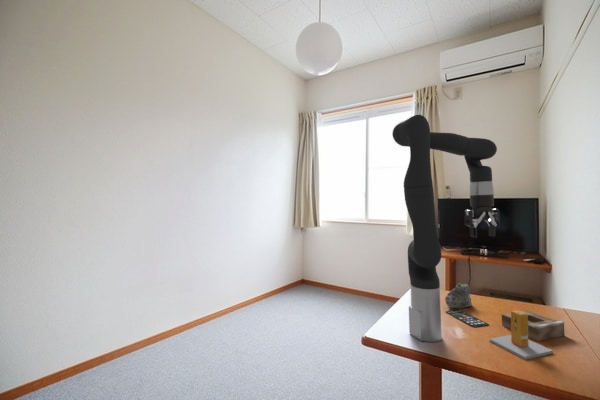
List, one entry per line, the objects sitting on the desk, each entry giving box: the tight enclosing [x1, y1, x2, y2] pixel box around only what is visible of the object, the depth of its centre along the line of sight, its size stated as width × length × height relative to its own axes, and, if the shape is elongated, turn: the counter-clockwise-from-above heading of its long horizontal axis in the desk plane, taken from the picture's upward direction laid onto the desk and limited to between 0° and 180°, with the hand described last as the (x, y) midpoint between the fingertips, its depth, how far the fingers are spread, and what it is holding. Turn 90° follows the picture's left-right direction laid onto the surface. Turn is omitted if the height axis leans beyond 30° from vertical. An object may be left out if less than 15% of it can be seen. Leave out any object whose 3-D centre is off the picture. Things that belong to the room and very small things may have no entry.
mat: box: [489, 334, 554, 360], centre depth 86 cm, size 11×11×1 cm
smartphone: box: [445, 309, 490, 329], centre depth 108 cm, size 7×1×15 cm
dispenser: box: [501, 310, 566, 342], centre depth 96 cm, size 12×12×5 cm
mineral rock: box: [444, 282, 473, 309], centre depth 120 cm, size 13×11×10 cm
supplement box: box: [510, 310, 529, 347], centre depth 86 cm, size 3×3×10 cm
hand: (483, 236), depth 104 cm, fingers open, 8 cm apart
